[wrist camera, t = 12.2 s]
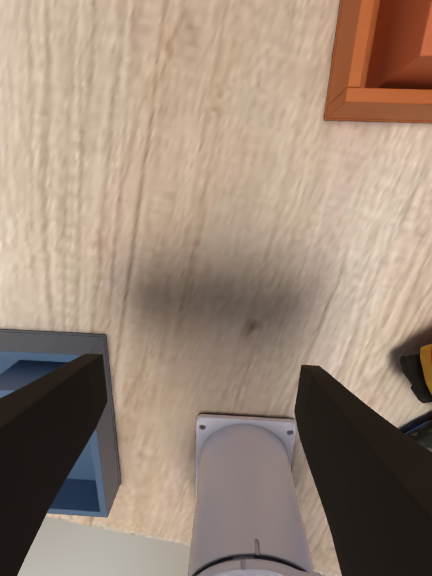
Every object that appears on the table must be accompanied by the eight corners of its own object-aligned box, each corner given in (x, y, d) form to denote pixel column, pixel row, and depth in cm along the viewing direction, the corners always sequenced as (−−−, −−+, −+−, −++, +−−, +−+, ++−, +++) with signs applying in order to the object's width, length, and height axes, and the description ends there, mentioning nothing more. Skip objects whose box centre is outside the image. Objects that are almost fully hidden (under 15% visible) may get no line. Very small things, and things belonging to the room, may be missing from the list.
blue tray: (121, 482, 25) (107, 518, 22) (-19, 473, 25) (-50, 506, 22) (106, 334, 20) (86, 355, 17) (-66, 325, 20) (-112, 345, 18)
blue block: (97, 401, 21) (65, 451, 17) (42, 398, 21) (-4, 447, 17) (91, 352, 20) (54, 393, 16) (32, 349, 20) (-20, 389, 16)
